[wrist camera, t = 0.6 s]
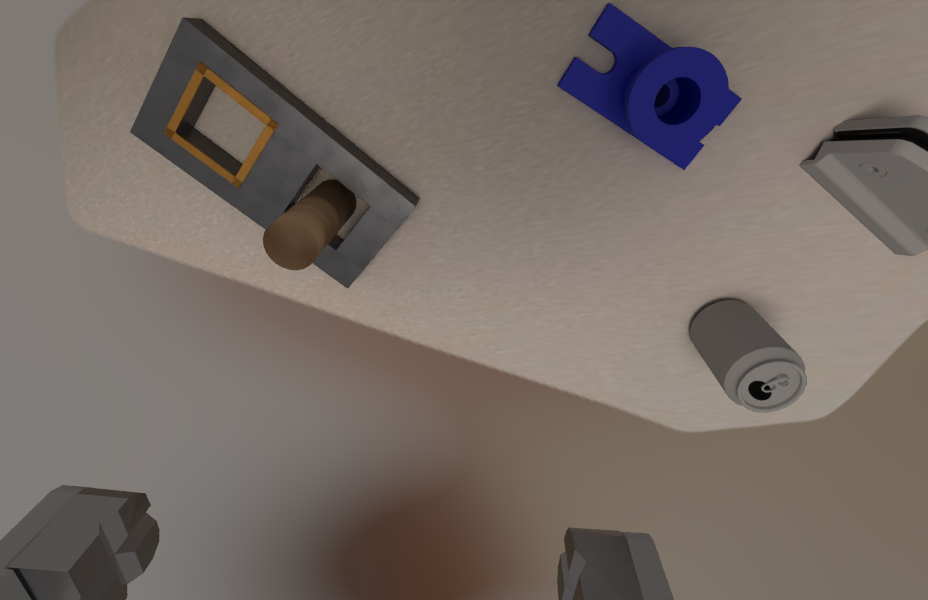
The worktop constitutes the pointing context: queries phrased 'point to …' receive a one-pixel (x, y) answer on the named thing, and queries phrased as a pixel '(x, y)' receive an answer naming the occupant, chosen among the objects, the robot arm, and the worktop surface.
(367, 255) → the grey slotted board
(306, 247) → the peg
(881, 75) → the worktop surface
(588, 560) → the robot arm
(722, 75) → the mount
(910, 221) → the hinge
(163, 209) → the worktop surface
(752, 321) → the can
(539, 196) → the worktop surface
